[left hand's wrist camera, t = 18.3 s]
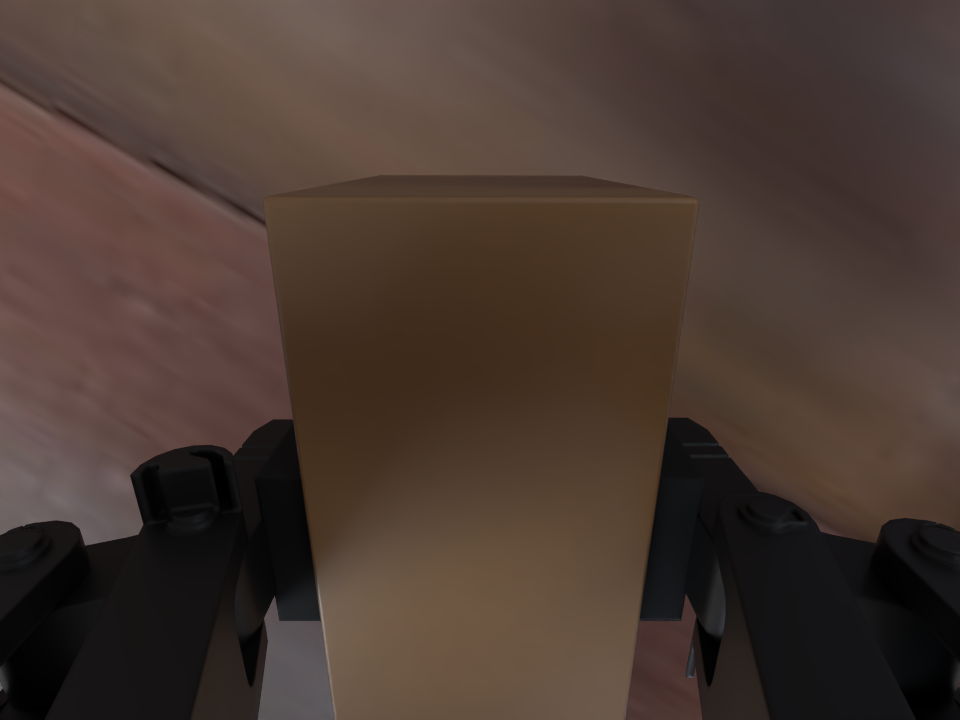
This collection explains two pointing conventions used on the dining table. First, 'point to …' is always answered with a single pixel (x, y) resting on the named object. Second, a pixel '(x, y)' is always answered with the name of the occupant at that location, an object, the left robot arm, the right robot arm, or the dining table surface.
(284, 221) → the bar
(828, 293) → the dining table surface
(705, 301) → the dining table surface
